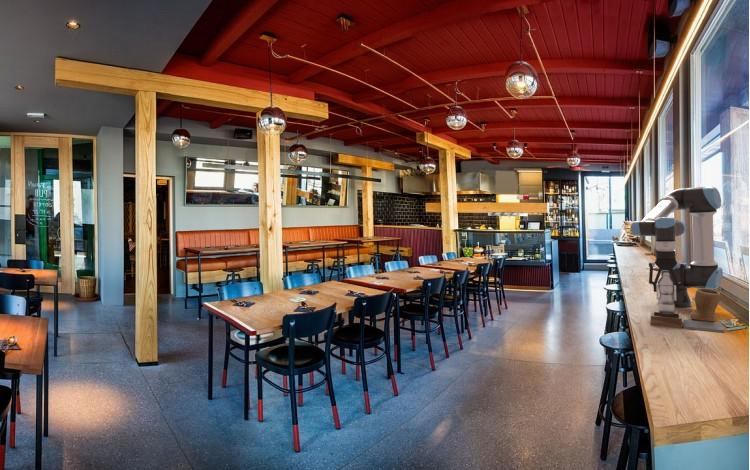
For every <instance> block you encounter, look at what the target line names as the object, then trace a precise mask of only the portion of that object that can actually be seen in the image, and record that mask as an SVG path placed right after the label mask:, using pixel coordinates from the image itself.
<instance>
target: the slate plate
mask: <svg viewBox="0 0 750 470" xmlns="http://www.w3.org/2000/svg"><path fill="white" fill-rule="evenodd" d="M721 323H722V322H714V321H699V320H694V319H682V325H683V329H685V330H686V329H687V330H695V331H696V330H697V331H707V332H715V333H716V332H717V333H725V327H724V325H723V323H722V324H721Z"/></svg>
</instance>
